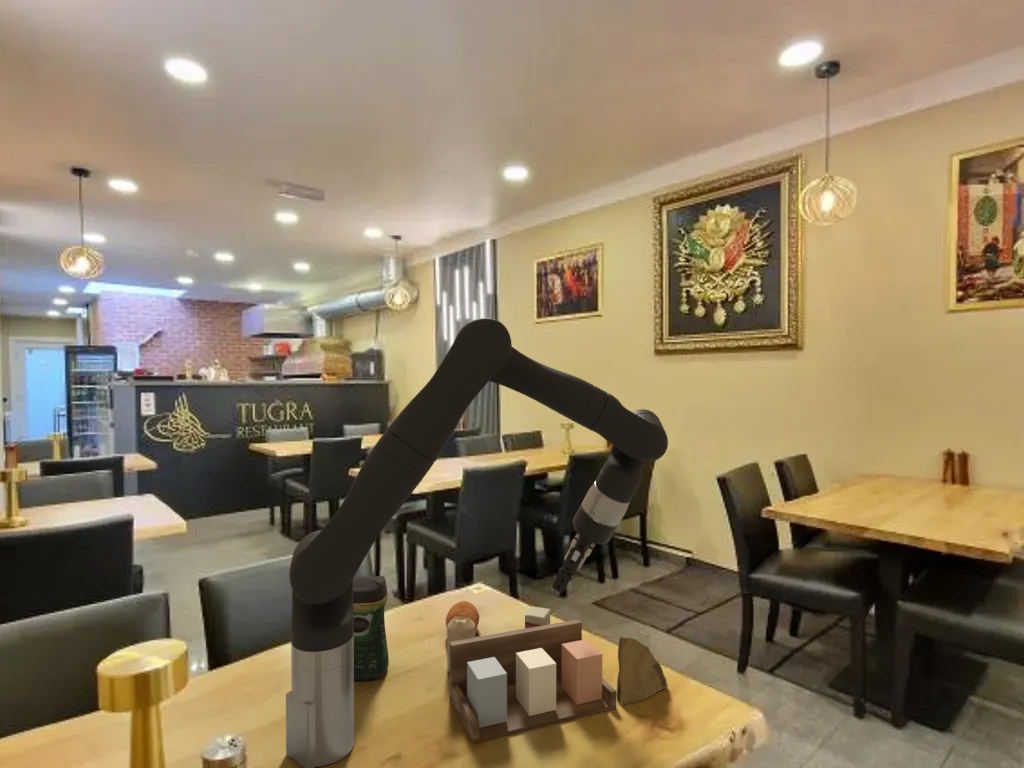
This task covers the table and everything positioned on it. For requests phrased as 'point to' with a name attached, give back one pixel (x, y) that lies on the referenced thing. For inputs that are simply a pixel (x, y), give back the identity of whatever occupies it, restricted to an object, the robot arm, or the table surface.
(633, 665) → the rock
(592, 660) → the key terracotta
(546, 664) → the cream rectangular block
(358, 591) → the coffee jar
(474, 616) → the potato
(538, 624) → the small box
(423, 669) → the table surface
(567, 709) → the tray
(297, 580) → the robot arm
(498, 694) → the grey blue block
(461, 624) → the candle
